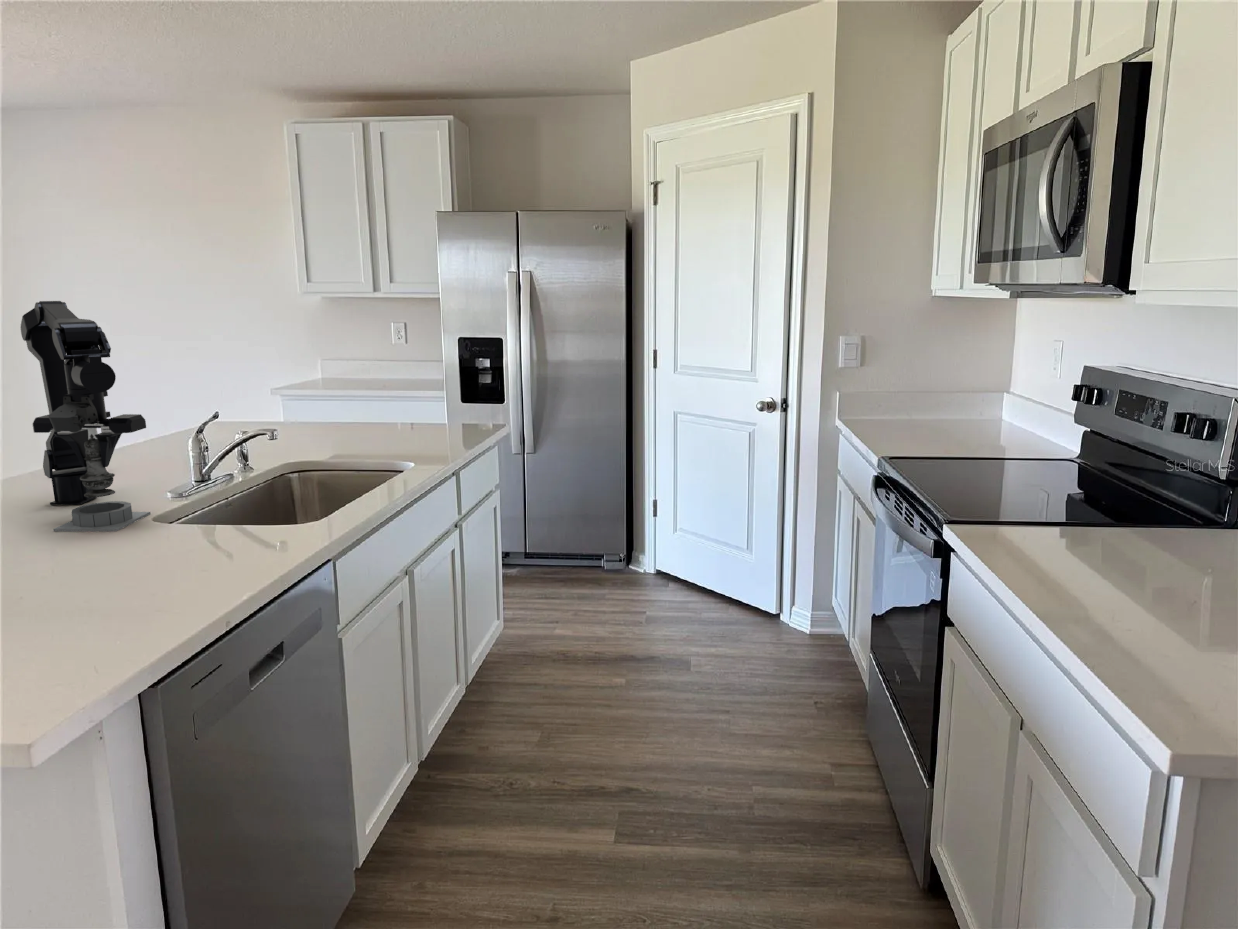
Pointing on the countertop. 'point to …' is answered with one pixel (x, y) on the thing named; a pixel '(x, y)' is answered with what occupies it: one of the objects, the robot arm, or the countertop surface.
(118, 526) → the collar
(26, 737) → the countertop surface
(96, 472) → the salt shaker
